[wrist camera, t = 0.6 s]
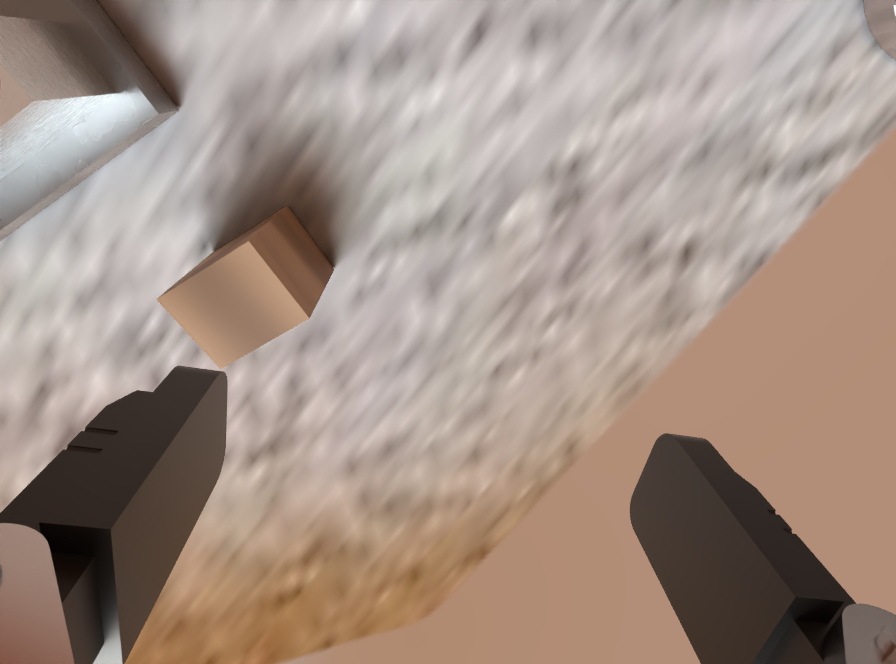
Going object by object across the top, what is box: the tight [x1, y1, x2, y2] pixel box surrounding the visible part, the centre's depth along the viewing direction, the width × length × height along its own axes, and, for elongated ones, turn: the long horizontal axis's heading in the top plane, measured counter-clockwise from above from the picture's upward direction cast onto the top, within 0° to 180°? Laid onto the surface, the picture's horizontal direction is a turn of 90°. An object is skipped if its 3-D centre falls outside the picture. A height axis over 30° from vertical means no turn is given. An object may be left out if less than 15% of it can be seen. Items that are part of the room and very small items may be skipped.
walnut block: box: [156, 206, 334, 369], centre depth 25 cm, size 5×4×6 cm
